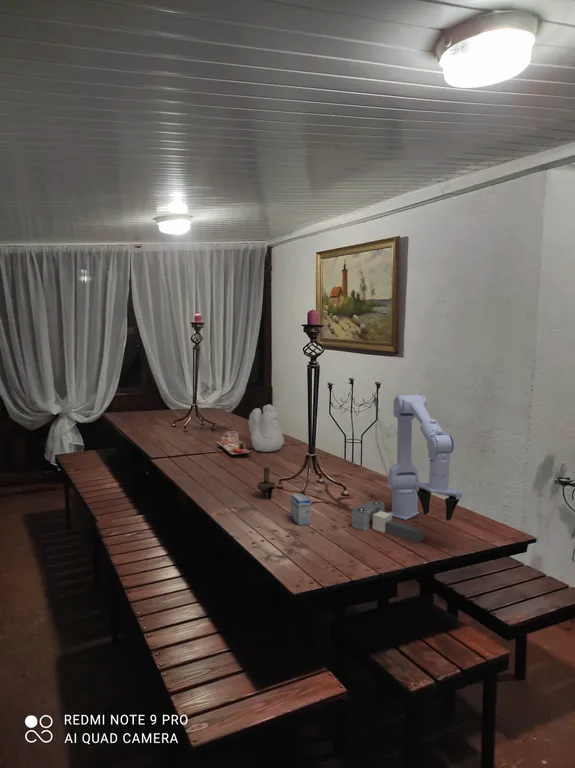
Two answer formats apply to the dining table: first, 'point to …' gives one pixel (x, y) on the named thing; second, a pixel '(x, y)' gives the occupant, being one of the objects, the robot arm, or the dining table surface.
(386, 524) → the plug
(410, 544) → the dining table surface
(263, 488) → the industrial component
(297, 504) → the medicine box
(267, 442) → the white lumpy sculpture
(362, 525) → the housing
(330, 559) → the dining table surface
